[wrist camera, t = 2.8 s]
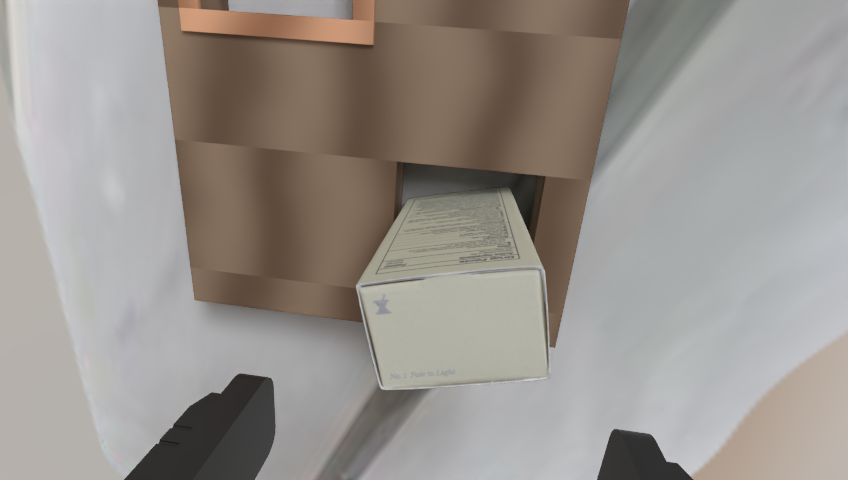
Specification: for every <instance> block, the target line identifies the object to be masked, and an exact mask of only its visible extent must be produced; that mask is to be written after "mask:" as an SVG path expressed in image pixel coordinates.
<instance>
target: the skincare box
mask: <svg viewBox="0 0 848 480" xmlns="http://www.w3.org/2000/svg"><path fill="white" fill-rule="evenodd" d="M356 290H357V294H358V298H359V304H360V308H361V313H362V318H363V322H364V328H365V332H366V336H367V340H368V344H369V349H370V354H371V357H372V362H373V365H374V369H375V372H376V376H377V380H378V384H379V386H380V388H381V389H382V390H402V389H425V388H443V387H459V386H472V385H486V384H501V383H510V382H524V381H536V380H546V379H548V378H550V375H551V372H550V346H549V322H548V303H547V289H546V278H545V270H544V267H543V265H542V263H541V261H540V259H539V256H538V254H537V252H536V249H535V247H534V245H533V242H532V240H531V237H530V235H529V232H528V230H527V227H526V225H525V223H524V221H523V218H522V216H521V213H520V211H519V209H518V206H517V204H516V201H515V199H514V196H513V194H512V192H511V189H510V188H509V187H500V188H490V189H480V190H471V191H462V192H455V193H446V194H439V195H431V196H424V197H418V198H411V199H408V200H407V201H406V203H405V205H404V206H403V208H402V210H401V211H400V213H399V215H398V217H397V218H396V220H395V221H394V223H393V225H392V226H391V228H390V230H389V231H388V233H387V235H386V236H385V238H384V240H383V241H382V243H381V244H380V246H379V248H378V250H377V251H376V253H375V255H374V256H373V258H372V260H371V262H370V263H369V265H368V266H367V268H366V270H365V271H364V273H363V274H362V276H361V278H360V280H359V281H358V283H357V284H356Z"/></svg>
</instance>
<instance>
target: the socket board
mask: <svg viewBox="0 0 848 480" xmlns="http://www.w3.org/2000/svg"><path fill="white" fill-rule="evenodd" d="M629 1H630V0H353V20H349V19H334V18H320V17H306V16H292V15H278V14H263V13H249V12H235V11H229V10H228V0H158V7H159V15H160V23H161V31H162V39H163V47H164V55H165V63H166V72H167V80H168V88H169V96H170V104H171V112H172V120H173V128H174V136H175V144H176V153H177V161H178V169H179V177H180V185H181V193H182V201H183V209H184V217H185V226H186V234H187V242H188V250H189V258H190V266H191V274H192V282H193V290H194V298H195V300H198V301H206V302H214V303H221V304H229V305H236V306H244V307H251V308H259V309H266V310H274V311H282V312H289V313H297V314H304V315H312V316H319V317H327V318H334V319H342V320H350V321H357V322H363V318H362V313H361V308H360V304H359V298H358V294H357V290H356V284H357V283H358V281H359V280H360V278H361V276H362V274H363V273H364V271H365V270H366V268H367V266H368V265H369V263H370V262H371V260H372V258H373V256H374V255H375V253H376V251H377V250H378V248H379V246H380V244H381V243H382V241H383V240H384V238H385V236H386V235H387V233H388V231H389V230H390V228H391V226H392V225H393V223H394V221H395V220H396V218H397V217H398V215H399V213H400V211H401V206H402V190H403V173H404V162H408V163H418V164H428V165H438V166H448V167H459V168H469V169H479V170H489V171H499V172H509V173H519V174H530V175H538V179H537V184H536V190H535V196H534V202H533V208H532V214H531V220H530V225H529V231H528V232H529V235H530V237H531V240H532V242H533V245H534V247H535V249H536V252H537V254H538V256H539V259H540V261H541V263H542V265H543V267H544V270H545V278H546V289H547V303H548V322H549V346H550V347H554V348H555V345H556V340H557V336H558V331H559V327H560V322H561V317H562V313H563V308H564V303H565V299H566V294H567V289H568V285H569V280H570V275H571V271H572V266H573V262H574V257H575V252H576V248H577V243H578V238H579V234H580V229H581V224H582V220H583V215H584V210H585V206H586V201H587V196H588V192H589V187H590V183H591V178H592V173H593V169H594V164H595V159H596V155H597V150H598V145H599V141H600V136H601V131H602V127H603V122H604V118H605V113H606V108H607V104H608V99H609V94H610V90H611V85H612V80H613V76H614V71H615V66H616V62H617V57H618V53H619V48H620V43H621V39H622V34H623V29H624V25H625V20H626V15H627V11H628V6H629Z"/></svg>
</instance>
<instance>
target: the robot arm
mask: <svg viewBox="0 0 848 480" xmlns="http://www.w3.org/2000/svg"><path fill="white" fill-rule="evenodd" d="M274 436H275V408H274V387H273V381H272V379H271V378H268V377H261V376H254V375H247V374H238V375H237V376H235V378H234V379H233V380H232V381H231V382H230V383H229V385H228V386H227V387H226V388H225V389H224V391H223V392H222V393H221V394H218V393H210V394H209V395H207V396H205V397H204V398H202V399H201V400H199V401H198V402H196V403H194V404H193V405H191V406H190V407H189V408H188V409H187V410H186V411H185V412H184V413H183V415H182V416H181V417H180V418H179V419H178V420H177V421H176V422H175V424H174V425H173V428H170V429H169V430H168V431H167V432H166V434H165V435H164V436H163V437H162V438H161V439H160V442H159V444H156V445H155V446H154V447H153V448H152V449H151V450H150V451H149V453H148V454H147V455H146V456H145V457H144V458H143V459H142V460H141V462H140V463H139V464H138V465H137V466H136V467H135V468H134V469H133V470H132V472H131V473H130V474H129V475H128V476H127V477H126V478H125V479H124V480H255V478H256V476H257V474H258V472H259V471H260V469H261V467H262V465H263V464H264V462H265V460H266V458H267V456H268V455H269V452H270V450H271V447H272V444H273V440H274ZM597 480H693V479H692V478H691V477H690V476H689V475H688V474H687V473H686V472H685V471H684V470H683V469H682V468H681V467H680V466H679V465H678V463H671V462H666V460H665V458H664V456H663V454H662V452H661V450H660V448H659V446H658V444H657V442H656V441H655V439H654V437H653V436H652V435H650V434H646V433H639V432H632V431H625V430H618V429H614V430H613V431H612V433H611V435H610V438H609V441H608V444H607V448H606V451H605V455H604V458H603V461H602V465H601V468H600V472H599V475H598V479H597Z"/></svg>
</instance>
